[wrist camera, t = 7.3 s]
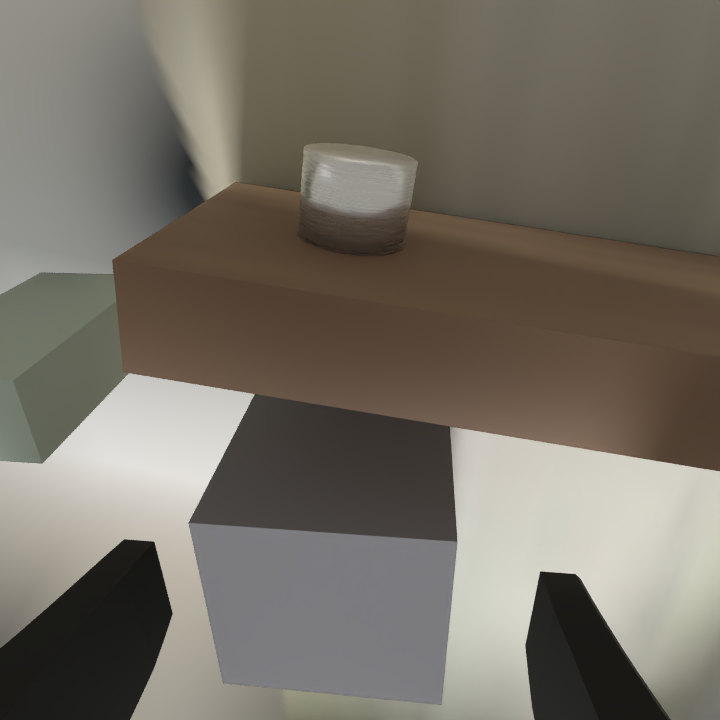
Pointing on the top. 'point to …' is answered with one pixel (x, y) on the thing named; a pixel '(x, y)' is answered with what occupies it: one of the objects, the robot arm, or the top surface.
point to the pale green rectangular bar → (55, 359)
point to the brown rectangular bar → (428, 314)
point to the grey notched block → (330, 552)
